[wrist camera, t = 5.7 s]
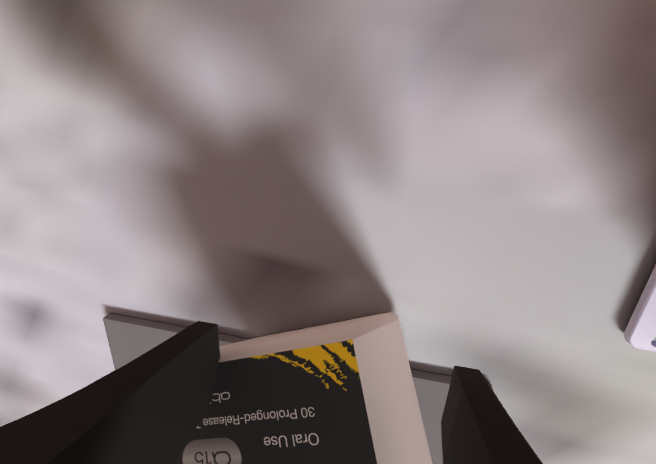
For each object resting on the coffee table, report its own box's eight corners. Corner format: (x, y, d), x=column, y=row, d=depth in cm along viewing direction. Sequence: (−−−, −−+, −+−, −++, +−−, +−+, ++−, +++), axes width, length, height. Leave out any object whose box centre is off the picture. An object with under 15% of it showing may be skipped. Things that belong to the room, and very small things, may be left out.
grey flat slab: (491, 383, 16) (493, 392, 16) (441, 547, 21) (442, 556, 21) (110, 313, 19) (102, 318, 19) (145, 468, 24) (140, 475, 24)
